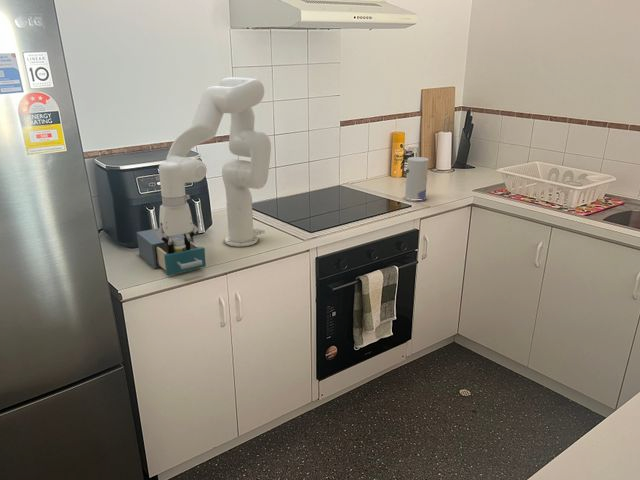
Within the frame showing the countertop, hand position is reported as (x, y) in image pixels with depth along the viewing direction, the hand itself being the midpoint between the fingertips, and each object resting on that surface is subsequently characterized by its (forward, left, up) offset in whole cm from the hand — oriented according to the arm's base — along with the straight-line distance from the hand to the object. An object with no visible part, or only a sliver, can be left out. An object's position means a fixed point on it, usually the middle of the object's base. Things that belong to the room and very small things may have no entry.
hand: (179, 252), depth 186 cm
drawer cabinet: (0, -13, -6) cm, 14 cm away
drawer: (0, +1, -5) cm, 5 cm away
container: (-130, -20, -6) cm, 132 cm away
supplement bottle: (0, 0, -4) cm, 4 cm away
